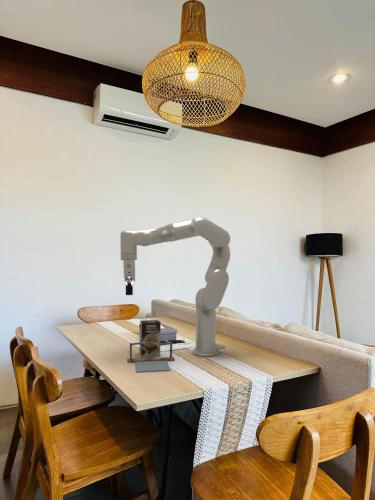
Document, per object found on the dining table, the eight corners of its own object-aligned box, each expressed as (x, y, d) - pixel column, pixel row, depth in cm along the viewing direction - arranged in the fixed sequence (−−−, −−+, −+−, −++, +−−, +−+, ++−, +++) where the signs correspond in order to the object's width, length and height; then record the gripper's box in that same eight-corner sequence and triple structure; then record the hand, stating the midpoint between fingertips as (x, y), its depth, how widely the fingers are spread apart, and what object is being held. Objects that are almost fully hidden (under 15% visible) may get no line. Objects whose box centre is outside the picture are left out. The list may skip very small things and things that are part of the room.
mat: (167, 361, 153) (167, 360, 153) (170, 370, 142) (170, 369, 142) (135, 363, 151) (135, 361, 151) (136, 372, 139) (136, 371, 139)
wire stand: (173, 359, 158) (173, 340, 158) (174, 361, 154) (175, 343, 154) (127, 361, 154) (127, 342, 154) (127, 363, 151) (127, 344, 151)
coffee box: (141, 358, 158) (141, 322, 158) (139, 353, 164) (139, 320, 164) (160, 356, 161) (160, 322, 161) (158, 352, 167) (158, 319, 167)
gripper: (137, 257, 153) (137, 295, 153) (136, 256, 170) (136, 291, 170) (120, 257, 152) (120, 296, 152) (120, 256, 169) (121, 291, 169)
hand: (129, 293), depth 161 cm, fingers open, 9 cm apart
